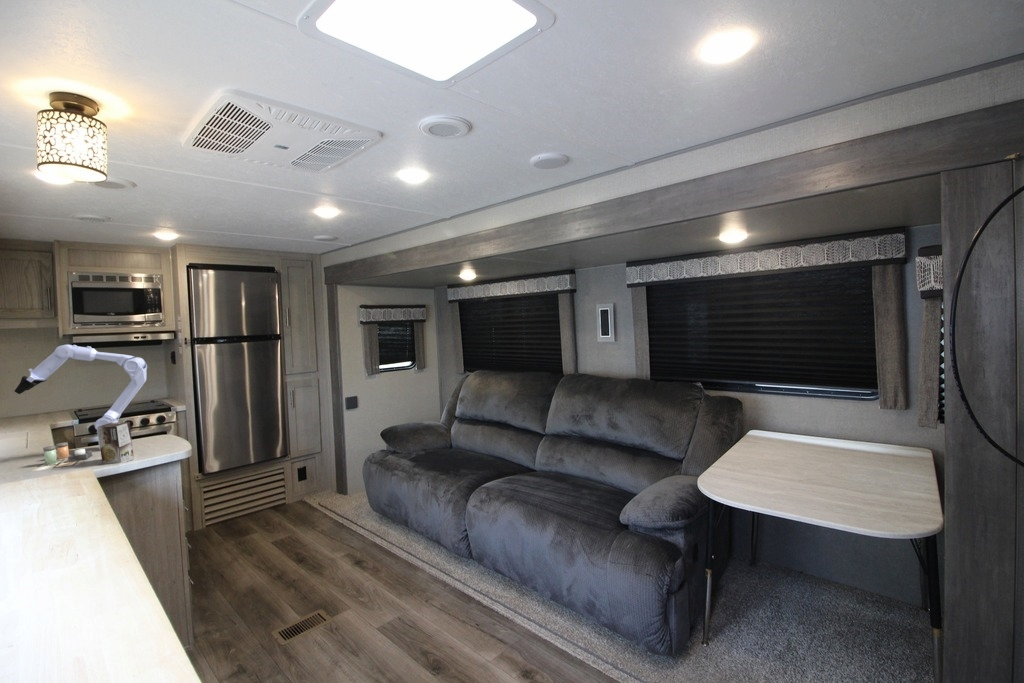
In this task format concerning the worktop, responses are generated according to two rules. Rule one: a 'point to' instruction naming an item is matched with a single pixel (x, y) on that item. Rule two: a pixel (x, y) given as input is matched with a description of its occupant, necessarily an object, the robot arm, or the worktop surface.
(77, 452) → the button
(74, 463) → the picture board
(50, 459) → the green jar
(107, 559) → the worktop surface
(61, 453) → the orange jar
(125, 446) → the coffee box
